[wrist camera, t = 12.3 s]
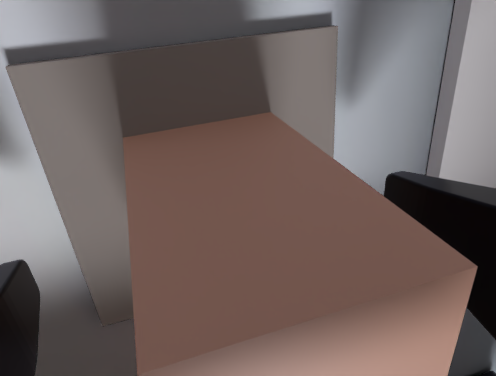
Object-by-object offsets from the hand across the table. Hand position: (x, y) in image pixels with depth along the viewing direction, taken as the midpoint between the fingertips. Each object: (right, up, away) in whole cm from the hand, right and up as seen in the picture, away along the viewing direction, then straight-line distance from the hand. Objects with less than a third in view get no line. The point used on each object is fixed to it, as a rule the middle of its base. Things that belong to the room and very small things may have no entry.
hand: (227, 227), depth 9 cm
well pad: (-1, +1, +2) cm, 2 cm away
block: (-1, +1, +2) cm, 2 cm away
